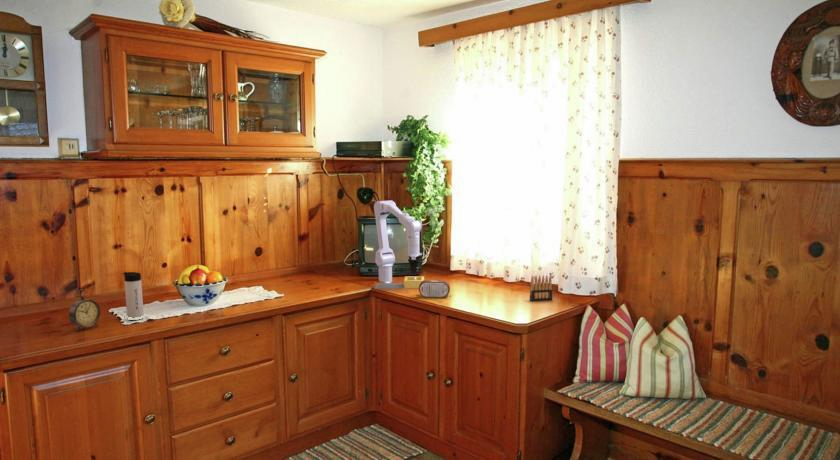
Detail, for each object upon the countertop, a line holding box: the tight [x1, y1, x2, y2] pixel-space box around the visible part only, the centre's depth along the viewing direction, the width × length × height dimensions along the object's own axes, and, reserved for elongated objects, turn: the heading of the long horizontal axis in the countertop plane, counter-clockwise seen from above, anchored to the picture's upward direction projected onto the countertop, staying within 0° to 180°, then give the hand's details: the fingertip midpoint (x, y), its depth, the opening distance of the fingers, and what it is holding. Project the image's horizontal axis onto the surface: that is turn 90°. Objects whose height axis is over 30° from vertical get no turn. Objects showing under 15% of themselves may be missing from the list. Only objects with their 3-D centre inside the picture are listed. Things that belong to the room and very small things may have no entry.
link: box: [403, 276, 425, 288], centre depth 302 cm, size 10×10×4 cm
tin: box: [418, 279, 451, 299], centre depth 282 cm, size 15×3×8 cm, turn 84°
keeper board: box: [374, 282, 419, 290], centre depth 303 cm, size 13×26×1 cm, turn 89°
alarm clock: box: [68, 288, 101, 332], centre depth 232 cm, size 11×5×16 cm, turn 155°
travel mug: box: [122, 271, 144, 318], centre depth 245 cm, size 6×7×20 cm
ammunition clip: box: [529, 274, 553, 302], centre depth 275 cm, size 11×2×12 cm, turn 101°
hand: (413, 271), depth 298 cm, fingers open, 7 cm apart
